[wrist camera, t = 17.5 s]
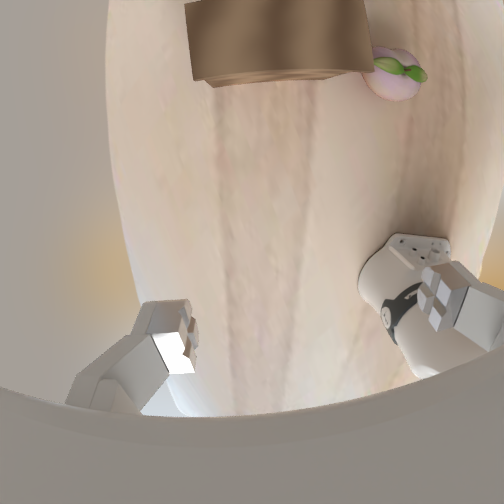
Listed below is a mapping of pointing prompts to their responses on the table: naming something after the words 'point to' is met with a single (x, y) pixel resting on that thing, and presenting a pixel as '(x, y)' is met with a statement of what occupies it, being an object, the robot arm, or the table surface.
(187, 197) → the table surface
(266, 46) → the wooden stand
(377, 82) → the decorative fruit
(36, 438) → the robot arm
